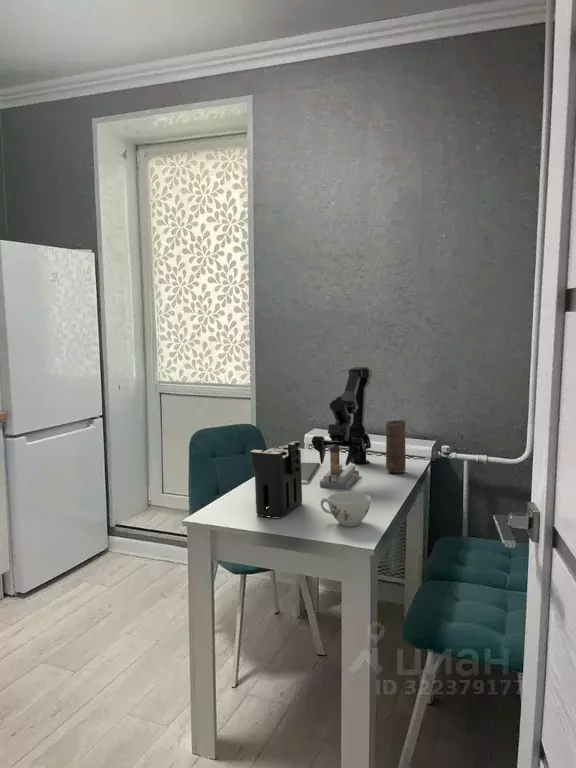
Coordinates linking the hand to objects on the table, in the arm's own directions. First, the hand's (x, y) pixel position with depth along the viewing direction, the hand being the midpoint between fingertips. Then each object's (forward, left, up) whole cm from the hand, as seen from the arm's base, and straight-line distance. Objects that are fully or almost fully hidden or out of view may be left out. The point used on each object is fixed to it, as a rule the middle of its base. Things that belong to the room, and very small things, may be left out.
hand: (333, 464), depth 205 cm
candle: (-8, +29, -8) cm, 31 cm away
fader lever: (-1, +1, -6) cm, 6 cm away
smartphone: (-22, -6, -9) cm, 24 cm away
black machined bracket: (+15, -23, -8) cm, 29 cm away
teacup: (+34, -11, -8) cm, 37 cm away
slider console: (-6, +5, -8) cm, 11 cm away
